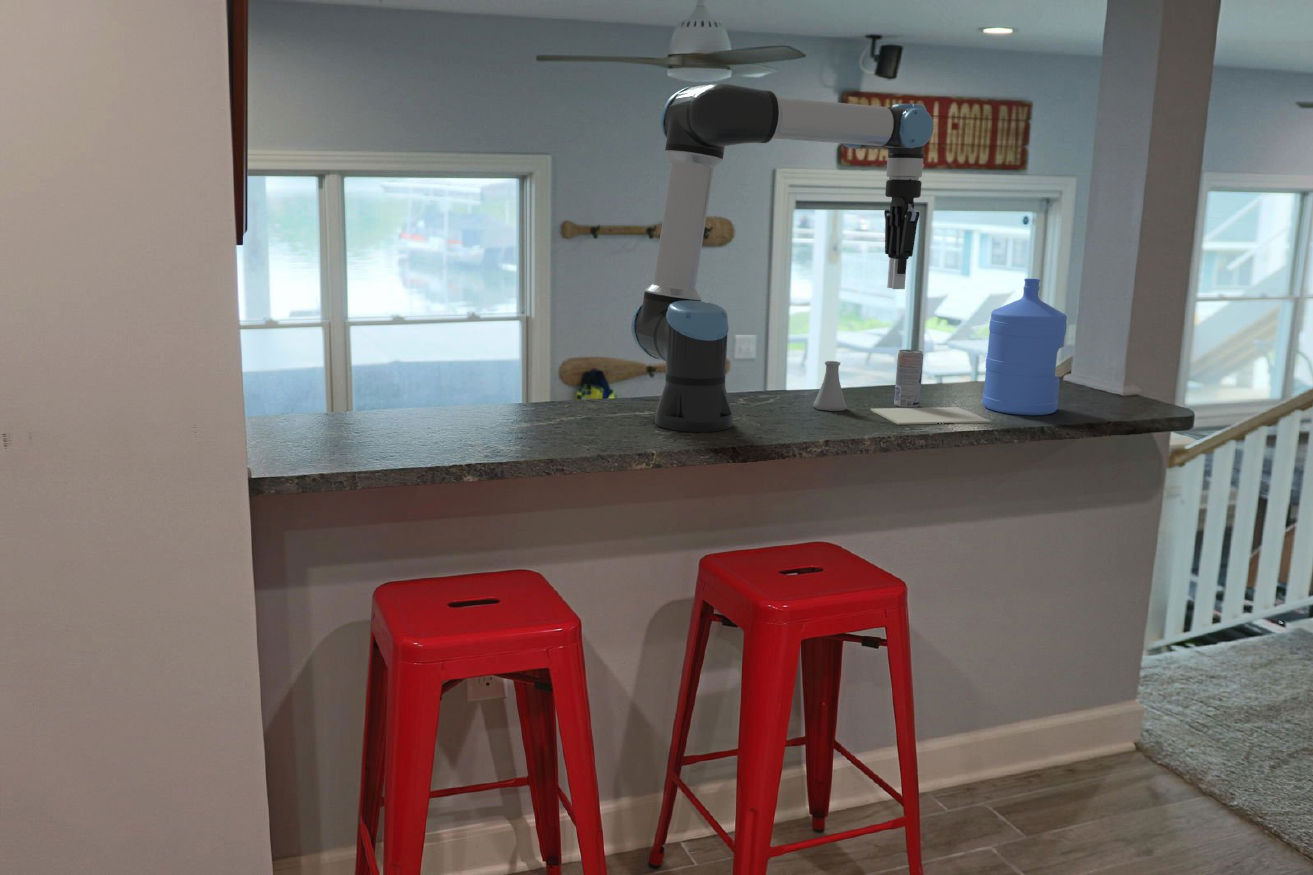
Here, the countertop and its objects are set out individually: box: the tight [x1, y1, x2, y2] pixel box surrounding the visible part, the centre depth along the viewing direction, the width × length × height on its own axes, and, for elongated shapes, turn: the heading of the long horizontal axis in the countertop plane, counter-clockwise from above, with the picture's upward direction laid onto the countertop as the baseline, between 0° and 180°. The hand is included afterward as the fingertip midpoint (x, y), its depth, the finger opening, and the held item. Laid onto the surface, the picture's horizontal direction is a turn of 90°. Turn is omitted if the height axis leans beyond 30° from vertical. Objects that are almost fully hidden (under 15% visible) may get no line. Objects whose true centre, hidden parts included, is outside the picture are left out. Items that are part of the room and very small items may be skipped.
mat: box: [870, 406, 991, 426], centre depth 229 cm, size 20×14×1 cm
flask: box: [812, 360, 848, 412], centre depth 234 cm, size 7×7×10 cm
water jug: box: [981, 278, 1068, 416], centre depth 237 cm, size 16×16×28 cm
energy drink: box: [893, 349, 924, 408], centre depth 238 cm, size 5×5×12 cm
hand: (895, 288), depth 244 cm, fingers open, 2 cm apart
